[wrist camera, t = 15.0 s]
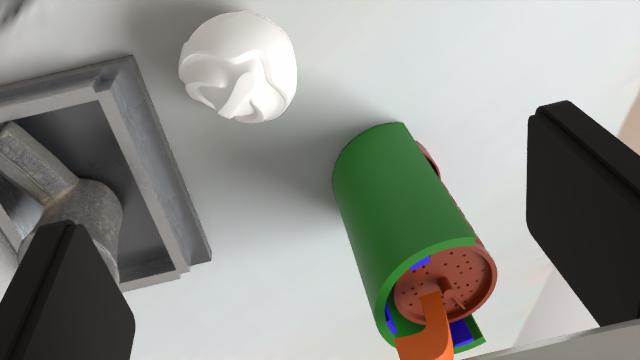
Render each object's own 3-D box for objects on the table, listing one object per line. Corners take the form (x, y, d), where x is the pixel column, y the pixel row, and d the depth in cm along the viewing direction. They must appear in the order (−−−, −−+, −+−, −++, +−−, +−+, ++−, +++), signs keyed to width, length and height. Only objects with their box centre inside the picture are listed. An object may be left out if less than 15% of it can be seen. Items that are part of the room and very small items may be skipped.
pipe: (33, 99, 39) (-8, 153, 32) (155, 216, 45) (142, 281, 39) (-29, 143, 40) (-82, 205, 33) (99, 251, 46) (76, 321, 40)
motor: (449, 196, 50) (559, 377, 33) (361, 238, 51) (425, 434, 34) (408, 108, 45) (514, 271, 28) (311, 158, 46) (357, 344, 29)
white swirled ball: (167, 67, 40) (154, 111, 34) (214, -26, 37) (210, 3, 31) (262, 115, 43) (267, 164, 37) (313, 33, 40) (328, 71, 34)
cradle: (-72, 103, 39) (-94, 122, 36) (133, 54, 39) (125, 70, 37) (50, 290, 49) (39, 317, 47) (211, 252, 50) (210, 275, 47)
